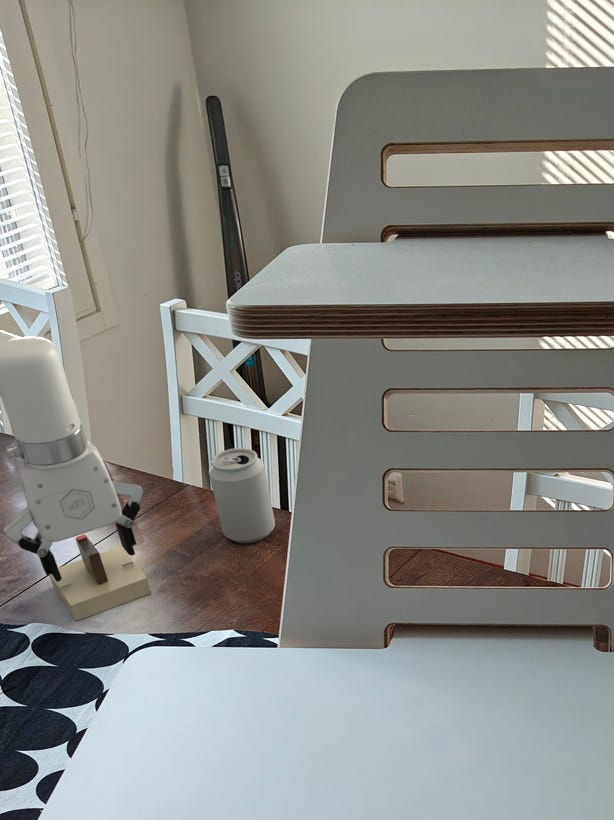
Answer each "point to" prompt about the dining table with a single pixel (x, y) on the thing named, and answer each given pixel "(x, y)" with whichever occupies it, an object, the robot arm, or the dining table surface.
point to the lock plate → (94, 598)
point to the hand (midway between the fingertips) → (93, 563)
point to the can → (242, 495)
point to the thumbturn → (91, 559)
